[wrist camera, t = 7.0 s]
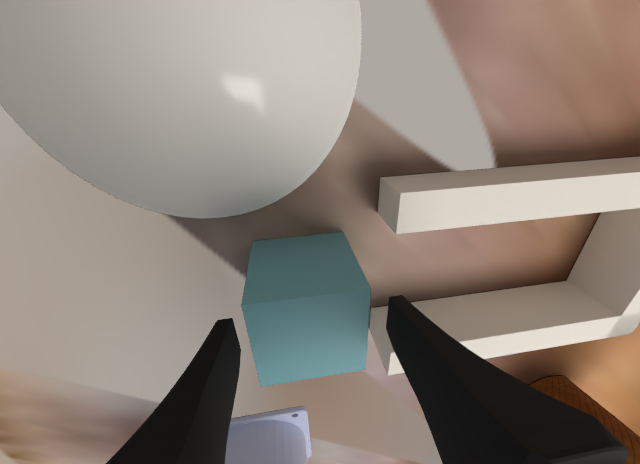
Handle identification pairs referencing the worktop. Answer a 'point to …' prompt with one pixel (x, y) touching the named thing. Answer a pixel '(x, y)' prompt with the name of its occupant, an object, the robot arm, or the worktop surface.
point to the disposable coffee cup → (591, 411)
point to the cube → (306, 308)
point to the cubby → (538, 300)
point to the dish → (183, 94)
